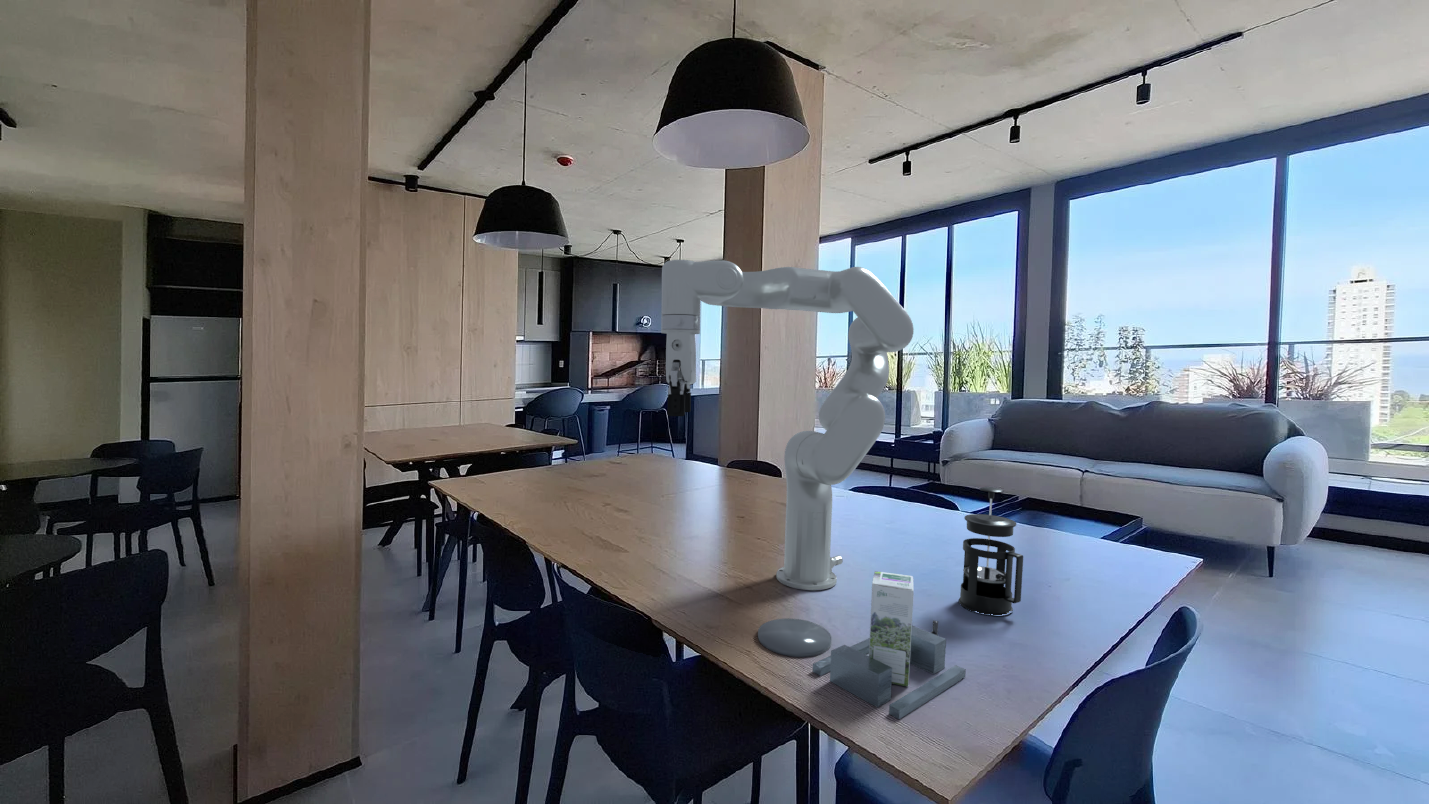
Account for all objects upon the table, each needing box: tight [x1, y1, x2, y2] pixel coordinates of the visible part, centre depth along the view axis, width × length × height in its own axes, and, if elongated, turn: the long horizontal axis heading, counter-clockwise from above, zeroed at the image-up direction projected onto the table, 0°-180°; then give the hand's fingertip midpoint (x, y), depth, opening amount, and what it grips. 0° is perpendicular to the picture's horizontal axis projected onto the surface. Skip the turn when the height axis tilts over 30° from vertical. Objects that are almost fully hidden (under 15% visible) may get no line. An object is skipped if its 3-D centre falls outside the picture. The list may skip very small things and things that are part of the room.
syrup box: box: [868, 570, 915, 687], centre depth 84 cm, size 6×6×14 cm
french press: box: [958, 486, 1024, 615], centre depth 110 cm, size 12×9×23 cm
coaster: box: [757, 617, 832, 658], centre depth 95 cm, size 12×12×1 cm
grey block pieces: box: [812, 619, 967, 720], centre depth 86 cm, size 21×14×5 cm
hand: (679, 413), depth 113 cm, fingers open, 9 cm apart
